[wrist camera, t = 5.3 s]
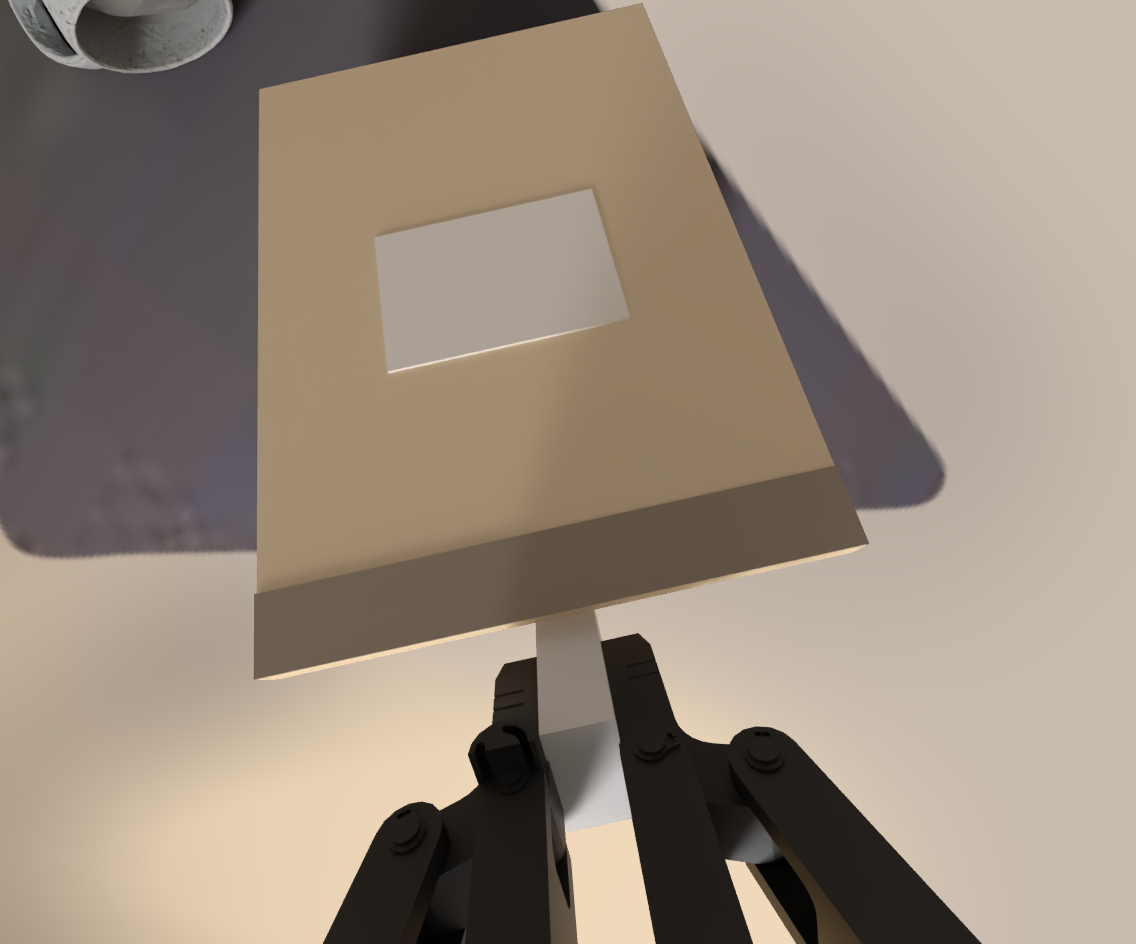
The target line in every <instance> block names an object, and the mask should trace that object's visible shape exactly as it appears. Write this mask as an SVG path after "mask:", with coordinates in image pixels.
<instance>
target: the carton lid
mask: <svg viewBox="0 0 1136 944" xmlns="http://www.w3.org/2000/svg"><path fill="white" fill-rule="evenodd" d="M867 544H869V542H868V540H867V537H866V535H865V532H864V530H863V527H862V525H861V523H860V520H859V518H858V515H857V513H856V511H855V508H854V506H853V504H852V501H851V499H850V496H849V494H848V492H847V489H846V487H845V484H844V482H843V480H842V477H841V475H840V472H839V470H838V468H837V465H834V463H833V461H832V458H831V456H830V453H829V451H828V449H827V446H826V444H825V441H824V439H823V437H822V434H821V432H820V429H819V427H818V425H817V422H816V420H815V417H814V415H813V413H812V410H811V408H810V405H809V403H808V400H807V398H806V396H805V393H804V391H803V388H802V386H801V384H800V381H799V379H798V376H797V374H796V372H795V369H794V367H793V364H792V362H791V360H790V357H789V355H788V352H787V350H786V348H785V345H784V343H783V340H782V338H781V336H780V333H779V331H778V328H777V326H776V324H775V321H774V319H773V316H772V314H771V311H770V309H769V307H768V304H767V302H766V299H765V297H764V295H763V292H762V290H761V287H760V285H759V283H758V280H757V278H756V275H755V273H754V271H753V268H752V266H751V263H750V261H749V259H748V256H747V254H746V251H745V249H744V247H743V244H742V242H741V239H740V237H739V235H738V232H737V230H736V227H735V225H734V222H733V220H732V218H731V215H730V213H729V210H728V208H727V206H726V203H725V201H724V198H723V196H722V194H721V191H720V189H719V186H718V184H717V182H716V179H715V177H714V174H713V172H712V170H711V167H710V165H709V162H708V160H707V158H706V155H705V153H704V150H703V148H702V146H701V143H700V141H699V138H698V136H697V133H696V131H695V129H694V126H693V124H692V121H691V119H690V117H689V114H688V112H687V109H686V107H685V105H684V102H683V100H682V97H681V95H680V93H679V90H678V88H677V85H676V83H675V81H674V78H673V76H672V73H671V71H670V69H669V66H668V64H667V61H666V59H665V57H664V54H663V52H662V49H661V47H660V45H659V42H658V40H657V37H656V35H655V32H654V30H653V28H652V25H651V23H650V21H649V18H648V16H647V13H646V11H645V8H644V6H643V4H642V3H641V4H637V5H632V6H628V7H623V8H618V9H614V10H610V11H605V12H601V13H596V14H592V15H587V16H583V17H579V18H574V19H570V20H565V21H561V22H556V23H552V24H547V25H543V26H539V27H534V28H530V29H525V30H521V31H516V32H512V33H508V34H503V35H499V36H494V37H490V38H485V39H481V40H476V41H472V42H468V43H463V44H459V45H454V46H450V47H445V48H441V49H437V50H432V51H428V52H423V53H419V54H414V55H410V56H405V57H401V58H397V59H392V60H388V61H383V62H379V63H374V64H370V65H366V66H361V67H357V68H352V69H348V70H343V71H339V72H334V73H330V74H326V75H321V76H317V77H312V78H308V79H303V80H299V81H295V82H290V83H286V84H281V85H277V86H272V87H268V88H263V89H259V252H258V465H257V594H254V679H255V680H277V679H282V678H286V677H291V676H295V675H300V674H304V673H309V672H313V671H318V670H323V669H327V668H331V667H336V666H340V665H345V664H350V663H354V662H359V661H363V660H368V659H372V658H377V657H381V656H386V655H390V654H395V653H399V652H404V651H409V650H413V649H418V648H422V647H427V646H431V645H436V644H440V643H445V642H449V641H453V640H458V639H462V638H467V637H472V636H476V635H481V634H485V633H490V632H494V631H499V630H504V629H508V628H513V627H517V626H522V625H526V624H531V623H535V622H540V621H544V620H549V619H553V618H558V617H562V616H567V615H571V614H576V613H580V612H585V611H589V610H594V609H599V608H603V607H608V606H612V605H617V604H621V603H625V602H630V601H635V600H639V599H644V598H648V597H653V596H657V595H662V594H666V593H670V592H675V591H680V590H684V589H688V588H694V587H698V586H702V585H707V584H712V583H716V582H721V581H725V580H730V579H734V578H738V577H743V576H748V575H752V574H757V573H761V572H766V571H770V570H775V569H779V568H784V567H789V566H793V565H797V564H802V563H806V562H811V561H816V560H820V559H825V558H829V557H834V556H838V555H842V554H847V553H852V552H855V551H857V550H858V549H860V548H862V547H864V546H866V545H867Z"/></svg>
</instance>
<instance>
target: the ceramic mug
mask: <svg viewBox="0 0 1136 944" xmlns="http://www.w3.org/2000/svg"><path fill="white" fill-rule="evenodd" d="M42 1H43V2H44V4H45V6H46V7H47V9H48V11H49V12H50V14H51V16H52V17H53V19H54V21H55V22H56V24H57V26H58V27H59V29H60V31H61V32H62V34H63V35H64V37H65V39H66V40H67V41H68V43H69V44H70V45H71V46H72V48H73V49H74V50H75V51H76V53H77V55H76V54H75V53H74V52H73V51H72V50H71V49H70V48H69V47H68V46H67V45H66V43H65V42H64V40H63V39H62V37H61V36H60V34H59V33H58V31H57V29H56V28H55V26H54V24H53V22H52V20H51V18H50V16H49V15H48V13H47V12H46V10H45V9H44V7H43V4H42V2H41V0H9V3H10V5H11V7H12V9H13V11H14V13H15V15H16V17H17V19H18V20H19V22H20V24H21V26H22V27H23V29H24V30H25V32H26V33H27V35H28V36H29V38H30V39H31V40H32V41H33V43H34V44H35V45H36V46H37V47H38V48H39V49H40V50H41V51H42V52H43V53H44V54H45V55H46V56H48V57H49V58H51V59H53V60H55V61H57V62H59V63H62V64H65V65H68V66H73V67H80V68H87V69H100V68H105V69H109V70H112V71H118V72H123V73H144V72H147V73H150V72H155V71H163V70H168V69H172V68H175V67H178V66H180V65H183V64H185V63H188V62H190V61H192V60H195V59H197V58H199V57H200V56H202V55H203V54H205V53H207V52H208V51H209V50H210V49H212V48H213V47H215V46H216V44H217V43H219V42H220V41H221V40H222V39H223V38H224V36H225V34H226V32H227V31H228V29H229V27H230V26H231V23H232V19H233V5H232V0H42Z"/></svg>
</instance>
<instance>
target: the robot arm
mask: <svg viewBox="0 0 1136 944" xmlns="http://www.w3.org/2000/svg"><path fill="white" fill-rule="evenodd" d="M536 647H537V657H534V658H529V659H525V660H521V661H516V662H511V663H507V664H504V666H503V667H502V669H501V671H500V673H499V675H498V677H497V678H496V680H495V694H494V696H495V699H494V707H493V709H494V713H493V721H492V725H491V726H489V727H488V728H486V729H485V730H484V731H482V732H481V733H480V734H479V735H478V736H477V737H476V739H475V740H474V741H473V742H472V744H471V747H470V750H469V753H468V757H469V759H470V762H471V765H472V767H473V770H474V773H475V776H476V778H477V781H478V784H479V785H478V786H477V787H476V788H475V789H474V790H473V791H472V792H471V793H470V794H468V795H467V796H465V797H464V798H462V799H461V800H459V801H457V802H455V803H453V804H451V805H449V806H448V807H446V808H444V809H442V810H440V811H439V810H438V809H437V808H436V807H435V806H434V805H433V804H430V803H426V802H417V803H411V804H408V805H406V806H404V807H402V808H400V809H399V810H396V811H395V812H394V813H393V814H392V815H391V816H390V817H389V818H387V819H386V820H385V821H384V823H383V824H382V826H381V827H380V829H379V830H378V832H377V833H376V835H375V837H374V839H373V841H372V843H371V845H370V847H369V850H368V852H367V854H366V856H365V858H364V860H363V862H362V864H361V866H360V868H359V870H358V872H357V874H356V876H355V878H354V880H353V883H352V884H351V887H350V889H349V891H348V893H347V895H346V897H345V899H344V901H343V903H342V905H341V907H340V909H339V911H338V914H337V916H336V918H335V920H334V922H333V924H332V926H331V928H330V930H329V932H328V934H327V936H326V938H325V940H324V942H323V944H578V943H577V932H576V931H577V930H576V918H575V905H574V893H573V880H572V868H571V858H570V855H569V851H568V848H567V844H566V839H565V824H566V828H567V831H568V832H571V831H576V830H581V829H586V828H590V827H595V826H599V825H604V824H608V823H613V822H618V821H622V820H627V819H631V818H632V821H633V826H634V831H635V837H636V842H637V847H638V852H639V857H640V863H641V868H642V874H643V879H644V884H645V889H646V895H647V900H648V905H649V910H650V916H651V920H652V926H653V932H654V937H655V942H656V944H753V942H752V939H751V936H750V933H749V930H748V927H747V924H746V921H745V918H744V915H743V912H742V909H741V906H740V903H739V900H738V897H737V894H736V891H735V888H734V885H733V882H732V879H731V876H730V873H729V870H728V867H727V864H726V861H725V859H727V860H735V861H741V862H745V863H746V865H747V867H748V868H749V870H750V872H751V873H752V875H753V876H754V878H755V879H756V881H757V882H758V884H759V885H760V887H761V889H762V890H763V892H764V894H765V895H766V897H767V898H768V900H769V901H770V903H771V905H772V906H773V908H774V909H775V911H776V912H777V914H778V916H779V917H780V919H781V920H782V922H783V923H784V925H785V927H786V928H787V930H788V931H789V933H790V934H791V936H792V937H793V939H794V941H795V942H796V944H981V942H980V941H979V940H978V939H977V938H976V937H975V936H974V935H973V934H972V933H971V932H970V931H969V930H968V928H967V927H966V926H965V925H964V924H963V923H962V922H961V921H960V920H959V919H958V917H957V916H956V915H955V914H954V913H953V912H952V911H951V910H950V909H949V908H948V907H947V906H946V905H945V903H943V901H942V900H941V899H940V898H939V897H938V896H937V895H936V894H935V893H934V892H933V890H932V889H931V888H930V887H929V886H928V885H927V884H926V883H925V882H924V881H923V880H922V878H921V877H919V875H918V874H917V873H916V872H915V871H914V870H913V869H912V868H911V867H910V866H909V864H908V863H907V862H906V861H905V860H904V859H903V858H902V857H901V856H900V855H899V854H898V852H897V851H896V850H895V849H894V848H893V847H892V846H891V845H890V844H889V843H888V842H887V841H886V839H885V838H884V837H883V836H882V835H881V834H880V833H879V832H878V831H877V830H876V829H875V828H874V826H873V825H872V824H871V823H870V822H869V821H868V820H867V819H866V818H865V817H864V816H863V815H862V813H861V812H859V810H858V809H857V808H856V807H855V806H854V805H853V804H852V803H851V802H850V800H849V799H847V797H846V796H845V795H844V794H843V793H842V792H841V791H840V790H839V789H838V787H836V785H835V784H834V783H833V782H832V781H831V780H830V779H829V778H828V777H827V776H826V774H825V773H824V772H823V771H822V770H821V769H820V768H819V767H818V766H817V765H816V764H815V763H814V761H813V760H812V759H811V758H810V757H809V756H808V755H807V754H806V753H805V752H804V751H803V750H802V749H801V747H800V746H799V745H798V744H797V743H796V742H795V741H794V740H793V739H791V738H790V737H789V736H787V735H786V734H785V733H783V732H781V731H779V730H776V729H773V728H770V727H752V728H748V729H744V730H742V731H741V732H740V733H738V734H737V735H735V736H734V737H733V739H732V741H731V742H730V744H716V743H715V744H714V743H707V742H702V741H700V740H697V739H695V738H692V737H691V736H689V735H688V734H686V733H685V732H684V731H683V730H682V729H681V728H680V727H679V726H678V724H677V722H676V720H675V717H674V715H673V711H672V708H671V705H670V703H669V699H668V696H667V693H666V690H665V687H664V684H663V681H662V678H661V675H660V672H659V669H658V666H657V663H656V660H655V657H654V654H653V651H652V648H651V645H650V644H649V643H648V642H647V641H646V640H645V639H644V638H643V637H642V636H641V635H640V634H638V633H637V634H632V635H628V636H623V637H619V638H615V639H610V640H606V641H602V640H601V635H600V630H599V626H598V621H597V616H596V612H595V609H594V610H589V611H585V612H580V613H576V614H571V615H567V616H562V617H558V618H553V619H549V620H544V621H540V622H536ZM564 821H565V824H564Z"/></svg>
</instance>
